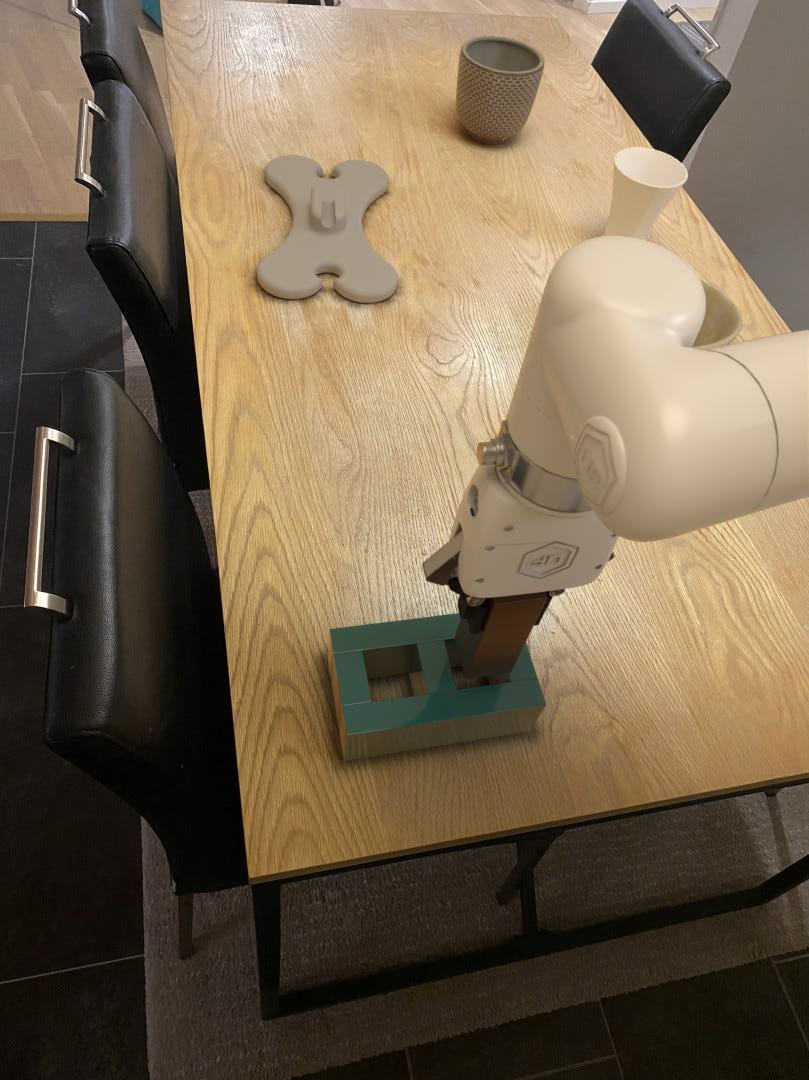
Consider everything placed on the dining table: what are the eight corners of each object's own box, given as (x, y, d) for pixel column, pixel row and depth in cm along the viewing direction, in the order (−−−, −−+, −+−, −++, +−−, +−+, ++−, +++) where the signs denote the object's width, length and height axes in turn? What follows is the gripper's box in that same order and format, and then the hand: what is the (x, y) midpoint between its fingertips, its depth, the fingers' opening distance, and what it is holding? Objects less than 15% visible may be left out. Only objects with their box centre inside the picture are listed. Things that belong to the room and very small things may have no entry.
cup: (643, 235, 120) (678, 150, 109) (658, 276, 114) (696, 190, 103) (579, 230, 119) (607, 143, 108) (591, 271, 112) (622, 183, 102)
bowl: (738, 383, 101) (774, 325, 93) (638, 424, 94) (668, 365, 87) (651, 305, 109) (677, 246, 101) (553, 338, 102) (574, 277, 95)
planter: (531, 125, 137) (550, 46, 126) (520, 162, 129) (539, 81, 118) (456, 108, 138) (469, 28, 127) (441, 144, 129) (453, 61, 119)
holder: (255, 299, 100) (253, 266, 96) (266, 163, 120) (265, 131, 116) (398, 306, 103) (402, 275, 99) (386, 172, 122) (389, 141, 118)
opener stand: (529, 731, 69) (546, 704, 64) (343, 761, 66) (346, 735, 61) (500, 636, 75) (514, 605, 70) (327, 659, 71) (329, 628, 66)
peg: (511, 673, 64) (547, 597, 54) (465, 679, 63) (494, 604, 53) (498, 631, 66) (531, 552, 56) (454, 637, 65) (480, 558, 56)
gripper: (438, 517, 40) (403, 671, 55) (719, 489, 44) (615, 642, 58) (410, 416, 45) (384, 585, 59) (667, 399, 48) (583, 562, 63)
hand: (499, 612), depth 59 cm, fingers closed on peg, 4 cm apart
